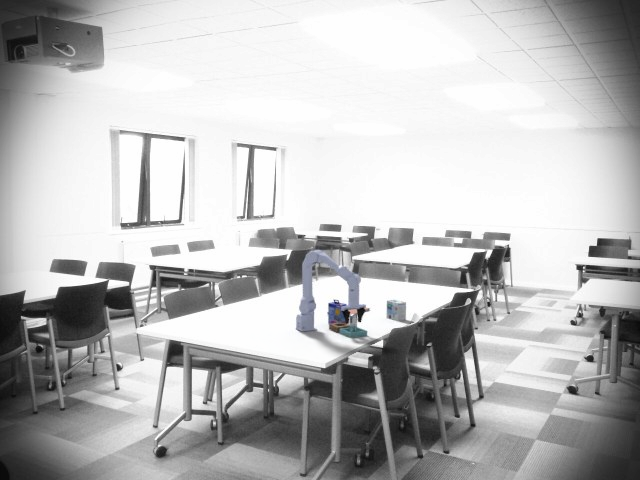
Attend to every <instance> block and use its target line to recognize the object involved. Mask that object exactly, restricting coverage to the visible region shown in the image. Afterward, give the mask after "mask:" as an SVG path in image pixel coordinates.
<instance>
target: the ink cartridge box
mask: <svg viewBox="0 0 640 480" xmlns="http://www.w3.org/2000/svg"><path fill="white" fill-rule="evenodd" d="M327 304H328V305H327V306H328V307H327V309H328V311H327V312H328V313H327V315H328V316H327V317H328V318H327V319H328V320H327V321H328V323H327V324H328V325H329V324H333V323H341V322H343V323H346V322H345V318H344V315H343V313H342V310H341V307H342V306H347V305H348V303H344V302H340V301H339V299H333V301H332V302H328V303H327Z"/></svg>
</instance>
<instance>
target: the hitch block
mask: <svg viewBox="0 0 640 480" xmlns="http://www.w3.org/2000/svg"><path fill="white" fill-rule="evenodd" d="M342 328H349V324H346V323H343V322H341V323H333V324H328V329H329V330H330V331H333V332H335V333H336V334H340V329H342Z"/></svg>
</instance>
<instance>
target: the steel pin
mask: <svg viewBox="0 0 640 480" xmlns="http://www.w3.org/2000/svg"><path fill="white" fill-rule="evenodd" d="M357 327H358V314H350V317H349V332H351V333H352V332H357Z"/></svg>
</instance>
